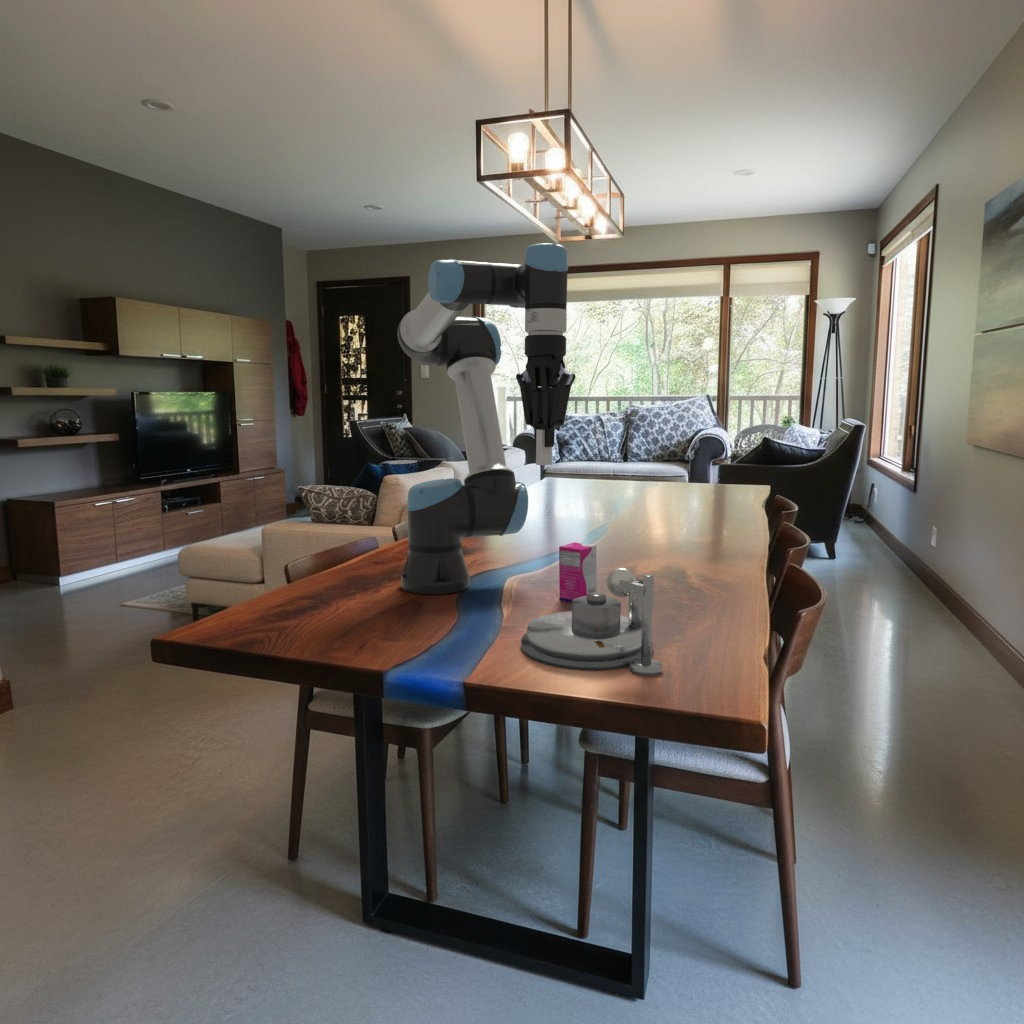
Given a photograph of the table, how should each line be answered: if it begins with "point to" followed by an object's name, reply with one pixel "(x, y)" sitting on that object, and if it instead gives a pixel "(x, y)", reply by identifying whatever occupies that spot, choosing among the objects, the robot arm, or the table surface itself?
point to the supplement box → (577, 570)
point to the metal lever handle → (621, 586)
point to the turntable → (559, 640)
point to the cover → (596, 616)
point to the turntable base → (576, 664)
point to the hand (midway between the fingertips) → (543, 464)
